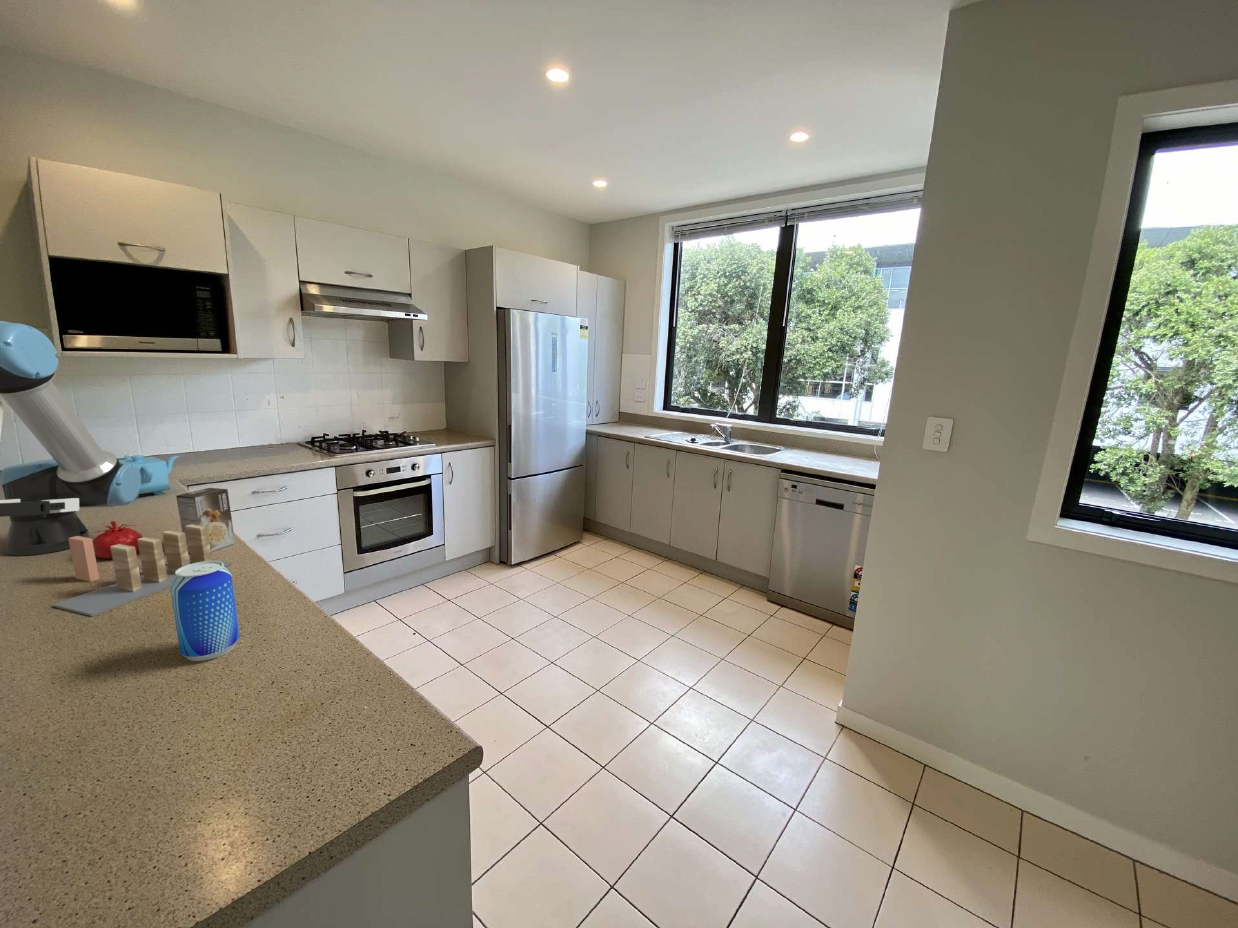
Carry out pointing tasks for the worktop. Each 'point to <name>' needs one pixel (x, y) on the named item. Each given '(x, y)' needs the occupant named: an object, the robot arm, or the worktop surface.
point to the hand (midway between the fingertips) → (48, 504)
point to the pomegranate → (115, 540)
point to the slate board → (115, 596)
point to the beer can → (204, 610)
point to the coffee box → (208, 515)
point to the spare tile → (83, 558)
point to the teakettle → (152, 473)
